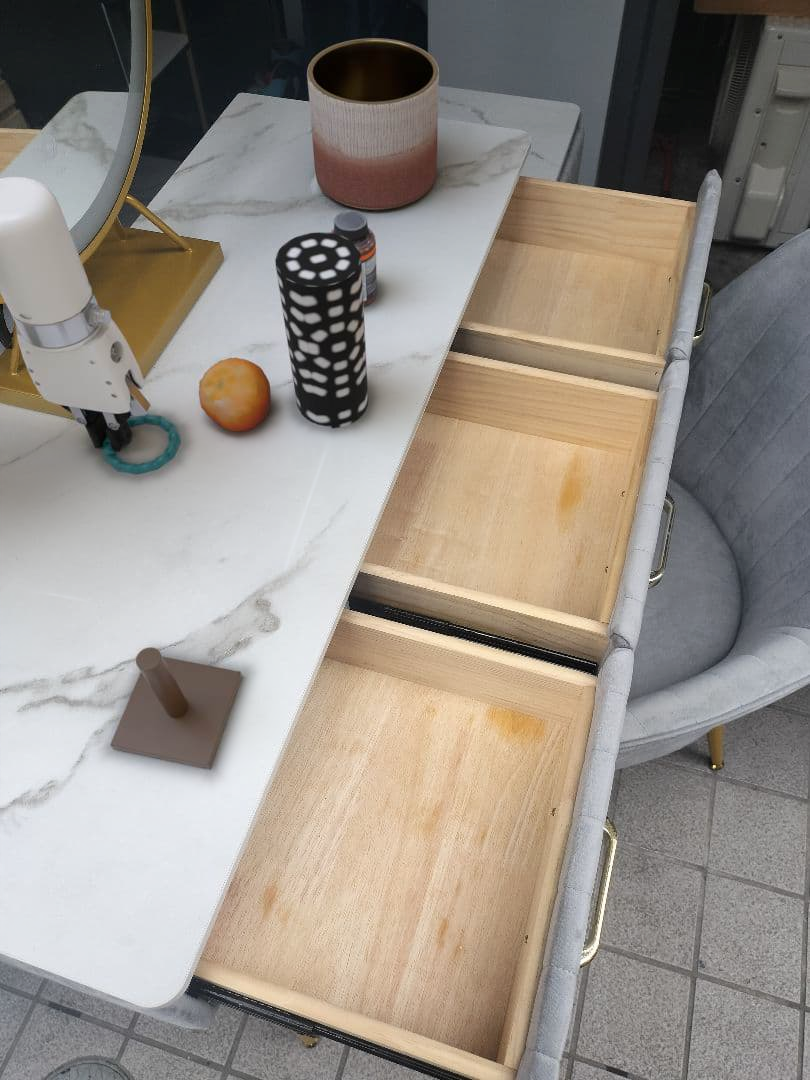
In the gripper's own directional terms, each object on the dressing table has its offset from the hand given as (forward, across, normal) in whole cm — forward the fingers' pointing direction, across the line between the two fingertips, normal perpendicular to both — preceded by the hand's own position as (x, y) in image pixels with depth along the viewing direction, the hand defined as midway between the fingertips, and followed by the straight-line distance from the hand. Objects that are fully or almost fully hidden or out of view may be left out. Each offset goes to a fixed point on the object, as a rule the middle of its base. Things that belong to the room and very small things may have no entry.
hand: (114, 441), depth 92 cm
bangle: (0, -3, 0) cm, 3 cm away
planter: (0, -18, -56) cm, 59 cm away
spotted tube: (0, -23, -11) cm, 25 cm away
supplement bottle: (0, -21, -30) cm, 36 cm away
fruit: (0, -13, -7) cm, 14 cm away
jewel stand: (0, -19, +29) cm, 34 cm away
